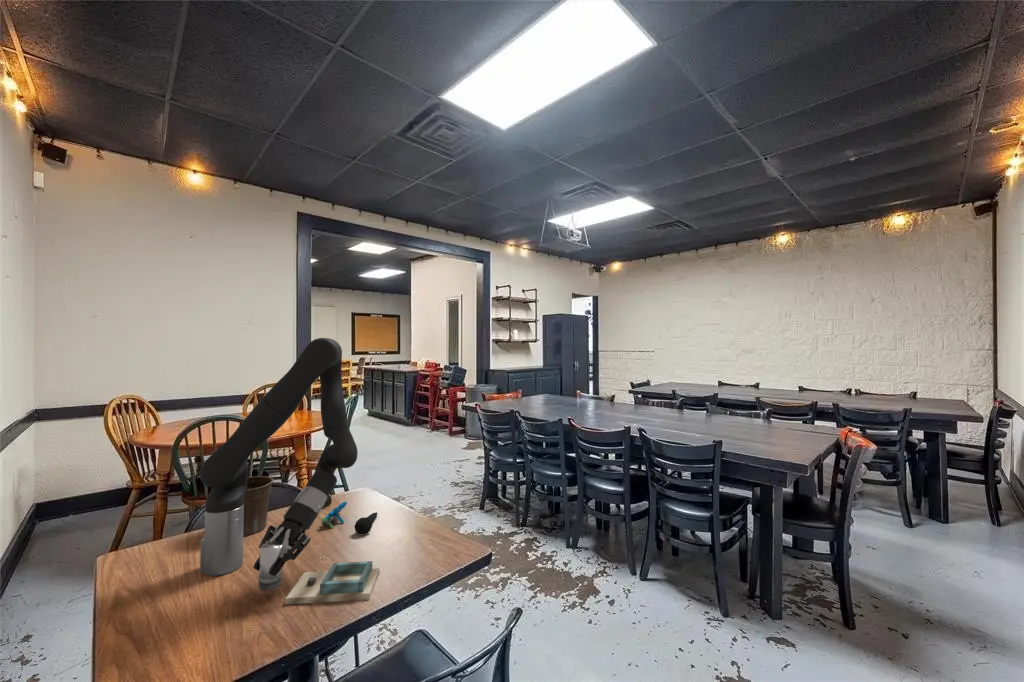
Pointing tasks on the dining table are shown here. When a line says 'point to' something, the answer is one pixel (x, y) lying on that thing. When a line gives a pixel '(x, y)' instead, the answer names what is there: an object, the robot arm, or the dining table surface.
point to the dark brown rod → (327, 502)
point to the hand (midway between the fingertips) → (264, 571)
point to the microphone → (365, 524)
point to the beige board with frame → (335, 584)
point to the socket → (269, 565)
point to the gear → (334, 513)
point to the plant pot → (256, 504)
